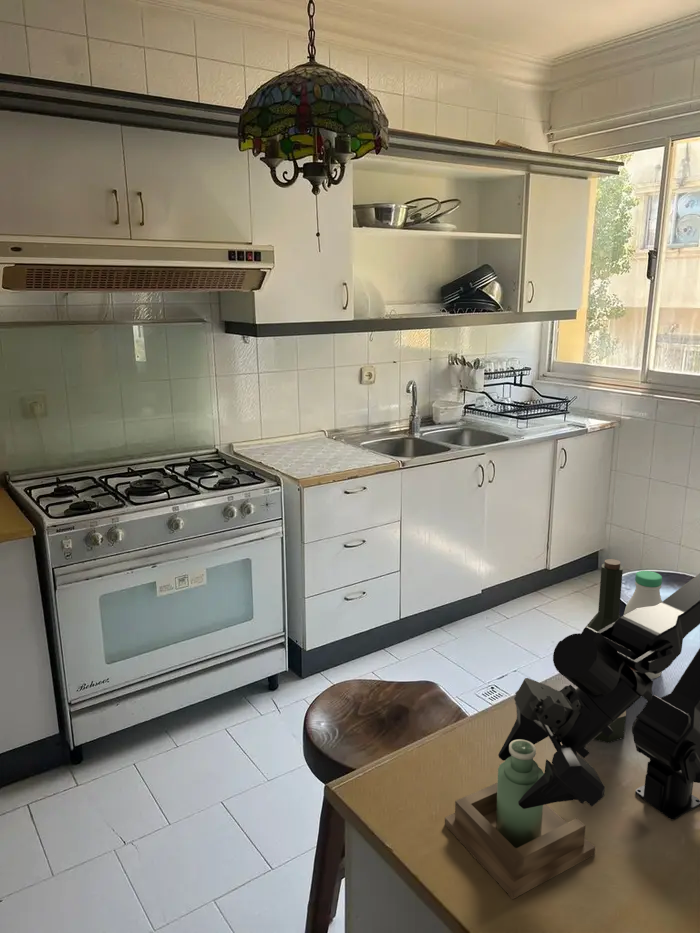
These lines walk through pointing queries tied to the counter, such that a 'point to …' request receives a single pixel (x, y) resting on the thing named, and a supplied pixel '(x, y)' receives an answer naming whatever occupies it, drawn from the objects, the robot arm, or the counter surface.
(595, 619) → the wine bottle
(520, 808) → the green bottle
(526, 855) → the bottle rest
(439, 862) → the counter surface
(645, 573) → the milk bottle
